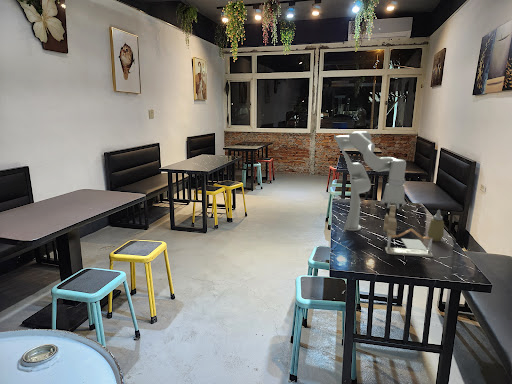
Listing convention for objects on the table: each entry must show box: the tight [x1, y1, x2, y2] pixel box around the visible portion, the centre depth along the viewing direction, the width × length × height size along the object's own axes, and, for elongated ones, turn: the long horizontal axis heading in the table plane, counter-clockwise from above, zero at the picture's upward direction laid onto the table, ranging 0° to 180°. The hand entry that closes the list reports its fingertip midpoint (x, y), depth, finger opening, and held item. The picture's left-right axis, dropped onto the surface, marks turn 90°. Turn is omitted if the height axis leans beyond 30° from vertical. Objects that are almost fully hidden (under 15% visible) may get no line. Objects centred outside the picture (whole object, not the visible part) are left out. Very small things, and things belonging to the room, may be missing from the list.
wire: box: [384, 228, 434, 258], centre depth 169 cm, size 6×22×14 cm, turn 80°
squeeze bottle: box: [427, 209, 445, 242], centre depth 186 cm, size 8×8×18 cm
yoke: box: [382, 204, 398, 239], centre depth 181 cm, size 11×4×17 cm, turn 170°
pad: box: [400, 238, 428, 250], centre depth 181 cm, size 14×10×1 cm
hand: (391, 214), depth 180 cm, fingers closed on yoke, 3 cm apart
